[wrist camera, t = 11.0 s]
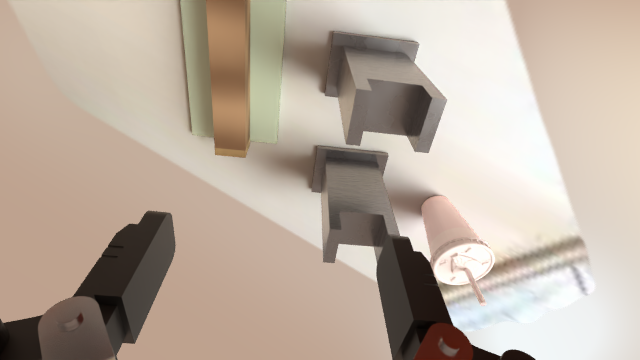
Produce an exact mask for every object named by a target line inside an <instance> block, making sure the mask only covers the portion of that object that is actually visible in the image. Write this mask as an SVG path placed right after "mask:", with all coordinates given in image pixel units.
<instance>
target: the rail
mask: <svg viewBox="0 0 640 360" xmlns="http://www.w3.org/2000/svg"><path fill="white" fill-rule="evenodd" d="M206 11H207V28H208V44H209V60H210V77H211V93H212V109H213V125H214V142H215V155H222V156H232V157H243V158H245V157H246V154H247V151H248V148H249V145H250V0H206Z"/></svg>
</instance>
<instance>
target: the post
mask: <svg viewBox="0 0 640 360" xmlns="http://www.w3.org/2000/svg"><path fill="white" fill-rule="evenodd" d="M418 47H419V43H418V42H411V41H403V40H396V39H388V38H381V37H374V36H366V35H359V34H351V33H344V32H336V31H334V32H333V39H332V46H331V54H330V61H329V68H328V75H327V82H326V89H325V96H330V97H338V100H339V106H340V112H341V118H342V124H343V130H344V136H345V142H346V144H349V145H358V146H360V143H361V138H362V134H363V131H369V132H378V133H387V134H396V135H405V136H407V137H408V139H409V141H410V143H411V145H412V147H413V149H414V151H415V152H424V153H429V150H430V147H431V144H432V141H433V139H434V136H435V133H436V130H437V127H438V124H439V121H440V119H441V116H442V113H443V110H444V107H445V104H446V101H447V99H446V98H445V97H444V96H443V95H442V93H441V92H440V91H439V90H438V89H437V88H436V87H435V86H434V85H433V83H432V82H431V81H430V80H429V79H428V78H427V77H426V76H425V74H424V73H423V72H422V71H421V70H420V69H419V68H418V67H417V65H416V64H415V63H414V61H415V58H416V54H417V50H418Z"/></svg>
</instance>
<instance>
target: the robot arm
mask: <svg viewBox="0 0 640 360" xmlns="http://www.w3.org/2000/svg"><path fill="white" fill-rule="evenodd" d="M174 252H175V237H174V229H173V221H172V215H171V214H170V213H166V212H157V211H156V212H155V211H147V212H146V213H145V214H144V216H143V218H142V219H141V221H140V222H139V224H129V225H127V226H126V227H124V228H123V229H122V230H120V231H119V232H118V233H116V235H115V236H114V238H113V239H112V241H111V242H110V243H109V245H108V248H106V249H105V251H104V252H103V254H102V257H101V258H99V260H98V261H97V262H96V264H95V265H94V267H93V268H92V270H91V271H90V272H89V274H88V275H87V277H86V279H85V280H84V281H83V283H82V284H81V286H80V287H79V288H78V290H77V291H76V293H75V294H74V296H73V297H71V298H68V299H65V300H63V301H60V302H59V303H57V304H55V305H54V306H52V307H51V308H50V309H49V310H47V312H46V313H45V314H44V315H41V316H37V317H32V318H28V319H22V320H17V321H12V322H6V323H3V322H2V321H1V319H0V360H118V359H117V356H116V355H117V353H118V351H119V349H120V347H121V345H122V343H132V344H133V343H134V344H135V342H136V340H137V338H138V335H139V333H140V331H141V329H142V326H143V324H144V322H145V320H146V318H147V315H148V313H149V311H150V308H151V306H152V304H153V302H154V300H155V298H156V295H157V293H158V291H159V288H160V286H161V284H162V282H163V280H164V277H165V275H166V273H167V271H168V268H169V266H170V264H171V262H172V259H173V257H174ZM377 282H378V287H379V292H380V297H381V302H382V307H383V312H384V317H385V323H386V328H387V333H388V338H389V343H390V348H391V354H392V359H393V360H535V359H534V358H533V357H531V356H530V355H528V354H526V353H524V352H522V351H519V350H508V351H506V352H504V353H503V355H502V356H498V355H496V354H493V353H491V352H488V351H485V350H483V349H480V348H478V347H475V346H474V345H472V344H471V343H470V341H469V340H468V338H467V337H466V336H465V335H464V333H463V332H462V331H460V330H459V329H458V328H456V327H454V326H453V323H452V321H451V318H450V316H449V313H448V310H447V308H446V305H445V302H444V299H443V297H442V294H441V291H440V289H439V287H438V283H437V281H436V278H435V277H434V273H433V270H432V267H431V265H430V262H429V261H428V260H427V259H426V258H425V256H424V255H423V254H422V253H421V252H417V251H413V248H412V245H411V242H410V239H409V238H408V237H403V236H393V235H388V236H387V238H386V240H385V243H384V246H383V249H382V251H381V254H380V257H379V260H378V263H377Z"/></svg>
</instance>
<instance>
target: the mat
mask: <svg viewBox="0 0 640 360" xmlns="http://www.w3.org/2000/svg"><path fill="white" fill-rule="evenodd" d="M180 4H181V15H182V26H183V37H184V48H185V59H186V70H187V81H188V92H189V103H190V114H191V125H192V135H197V136H206V137H214V125H213V109H212V93H211V77H210V60H209V44H208V28H207V11H206V0H180ZM285 14H286V0H250V141H254V142H264V143H273V144H277V138H278V122H279V107H280V91H281V76H282V60H283V45H284V29H285Z"/></svg>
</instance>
